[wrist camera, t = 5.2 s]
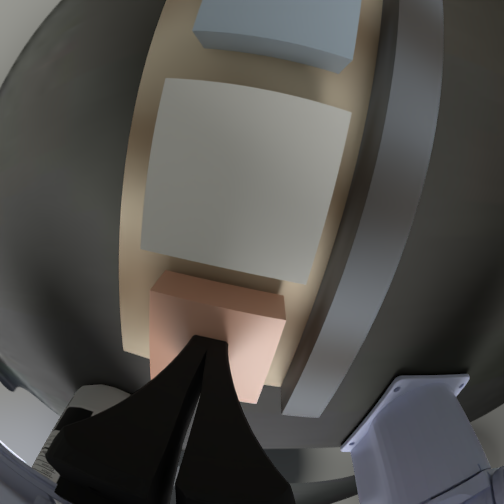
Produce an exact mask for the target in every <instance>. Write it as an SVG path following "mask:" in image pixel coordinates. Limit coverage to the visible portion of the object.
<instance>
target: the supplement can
mask: <svg viewBox="0 0 504 504" xmlns="http://www.w3.org/2000/svg"><path fill="white" fill-rule="evenodd" d="M130 395H131V394H129V393H126V392H124V391H122V390H120V389H117V388H115V387H111V386H107V385H102V384H99V385H85V386H82V387H81V388H79V389H78V390H77V391H76V393H75V394H74V396H73V398H72V399H71V401H70V402H69V404H68V406H67V407H66V409H65V410H64V412H63V414H62V415H61V417H60V419H59V420H58V422H57V423H56V425H55V427H54V429H53V430H52V432H51V434H50V435H49V437H48V439H47V440H46V442H45V444H44V446H43V448H42V450H41V451H40V453H39V455H38V457H37V458H36V460H35V462H34V464H33V466H32V468H33V469H34V470H36V471H37V472H39V473H40V474H42V475H43V476H45V477H47V478H48V479H50V480H51V481H53V482H55V483H56V484H58V482H59V480H60V478H61V476H60V475H59V474H58V472H57V471H56V470H55V469H54V468H53V467H52V466H51V465H50V464H49V463H48V461H47V460H46V458H45V454H46V452H47V450H48V448H49V447H50V445H51V443H52V441H53V439H54V438H55V436H56V435H57V434H58V433H59V431H60V430H61V429H62V428H63V426H66V425H69V424H72V423H75V422H78V421H81V420H83V419H86V418H89V417H91V416H94V415H96V414H98V413H100V412H102V411H104V410H106V409H108V408H110V407H112V406H114V405H116V404H118V403H119V402H121V401H123V400H124V399H126V398H127V397H129V396H130ZM54 500H55V499H54ZM55 502H56V504H62V503H60V502H58V501H57V500H55Z"/></svg>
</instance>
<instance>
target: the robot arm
mask: <svg viewBox="0 0 504 504" xmlns="http://www.w3.org/2000/svg"><path fill="white" fill-rule="evenodd" d="M469 378H470V377H469V375H468V374H453V375H402V376H398V377H396V378H395V379H394V380H393V382H392V383H391V385H390V386H389V388H388V389H387V390H386V392H385V393H384V394H383V396H382V397H381V399H380V400H379V401H378V403H377V404H376V405H375V407H374V408H373V409H372V410H371V412H370V413H369V414H368V415H367V417H366V418H365V419H364V420H363V422H362V423H361V424H360V425H359V426H358V428H357V429H356V430H355V431H354V432H353V434H352V435H351V436H350V437H349V438H348V439H347V440H346V441H345V443H344V444H343V445H342V446H341V447H340V448H341V451H342V452H351V457H352V462H353V467H354V473H355V478H356V484H357V490H358V496H359V502H360V504H504V466H502V467H500V468H493V469H491V466H490V464H489V462H488V460H487V457H486V455H485V453H484V450H483V449H482V446H481V444H480V442H479V440H478V438H477V436H476V434H475V432H474V430H473V428H472V426H471V424H470V422H469V420H468V418H467V416H466V414H465V412H464V411H463V409H462V407H461V405H460V403H459V401H458V400H457V398H456V396H457V395H458V394H459V392H460V391H461V390H462V388H463V387H464V386H465V385H466V383H467V382H468V380H469ZM200 393H201V394H200ZM199 396H200V399H199ZM198 399H199V403H198V407H197V410H196V414H195V417H194V421H193V425H192V428H191V432H190V435H189V439H188V442H187V446H186V449H185V453H184V456H183V460H182V463H181V466H180V469H179V473H178V476H177V479H176V482H175V490H176V504H295V499H294V495H293V492H292V489H291V486H290V484H289V483H288V482H287V481H286V480H285V478H284V477H283V476H282V475H281V474H280V472H279V471H278V470H277V469H276V467H275V466H274V465H273V464H272V462H271V461H270V459H269V458H268V457H267V455H266V453H265V452H264V450H263V449H262V447H261V445H260V444H259V442H258V440H257V439H256V437H255V435H254V434H253V432H252V430H251V428H250V426H249V424H248V422H247V419H246V417H245V415H244V413H243V410H242V408H241V405H240V402H239V399H238V396H237V393H236V390H235V387H234V383H233V379H232V375H231V370H230V364H229V356H228V343H227V342H226V341H222V340H217V339H213V338H208V337H204V336H199V335H194V336H192V338H191V339H190V341H189V342H188V343H187V345H186V346H185V347H184V348H183V349H182V351H181V352H180V353H179V354H178V355H177V356H176V357H175V358H174V359H173V360H172V361H171V362H170V363H169V365H168V366H166V367H165V368H164V369H163V370H162V371H161V372H160V373H159V374H158V375H157V376H156V377H154V378H153V379H152V380H151V381H150V382H148V383H147V384H146V385H145V386H143V387H142V388H141V389H139V390H138V391H136V392H135V393H134V394H132V395H130V396H129V397H127V398H126V399H124V400H123V401H121V402H119V403H118V404H116V405H114V406H112V407H110V408H108V409H106V410H104V411H102V412H100V413H98V414H96V415H94V416H91V417H89V418H86V419H83V420H81V421H78V422H75V423H72V424H69V425H66V426H63V428H62V429H61V430H60V431H59V433H58V434H57V435H56V436H55V438H54V439H53V441H52V443H51V445H50V447H49V448H48V450H47V452H46V454H45V458H46V460H47V461H48V463H49V464H50V465H51V466H52V467H53V468H54V469H55V470H56V471H57V472H58V474H59V475H60V476H61V478H60V480H59V482H58V484H56V483H55V482H53V481H51V480H50V479H48V478H47V477H45V476H43V475H42V474H40V473H39V472H37V471H36V470H34V469H33V468H31V467H30V466H28V465H27V464H25V463H24V462H23V461H21V460H20V459H18V458H17V457H16V456H14V455H13V454H12V453H10V452H9V451H8V450H7V449H5V448H4V447H3V446H2V445H0V504H56V502H55V500H57V501H58V502H60V503H62V504H170V500H171V495H172V490H173V485H174V481H175V476H176V471H177V467H178V462H179V458H180V454H181V450H182V445H183V442H184V438H185V435H186V432H187V429H188V427H189V424H190V421H191V418H192V416H193V413H194V410H195V407H196V404H197V402H198ZM54 499H55V500H54Z"/></svg>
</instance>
